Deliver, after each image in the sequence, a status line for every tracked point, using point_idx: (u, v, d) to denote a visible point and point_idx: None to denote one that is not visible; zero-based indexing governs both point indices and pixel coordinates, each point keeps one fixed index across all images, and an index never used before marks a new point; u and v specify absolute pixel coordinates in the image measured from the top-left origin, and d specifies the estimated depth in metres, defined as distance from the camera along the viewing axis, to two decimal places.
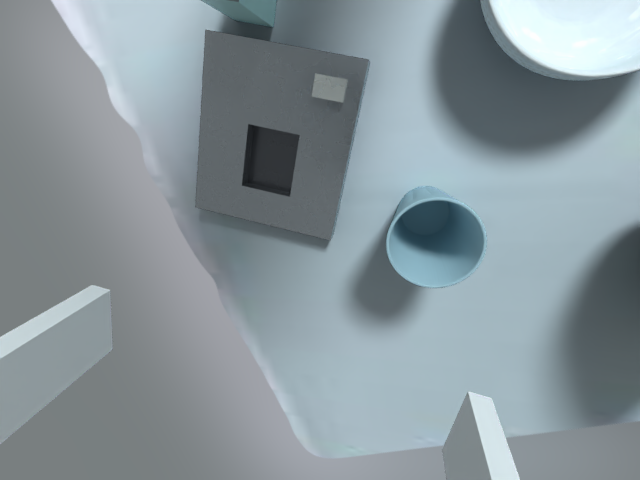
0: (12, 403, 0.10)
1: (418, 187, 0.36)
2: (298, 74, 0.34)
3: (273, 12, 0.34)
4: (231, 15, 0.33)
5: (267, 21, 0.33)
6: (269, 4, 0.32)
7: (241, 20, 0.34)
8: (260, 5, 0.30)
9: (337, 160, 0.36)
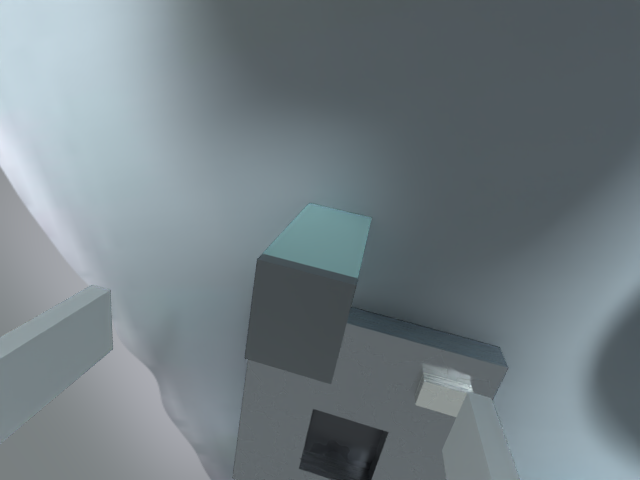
0: (12, 403, 0.10)
1: None
2: (394, 368, 0.23)
3: None
4: None
5: None
6: None
7: None
8: None
9: (443, 467, 0.25)
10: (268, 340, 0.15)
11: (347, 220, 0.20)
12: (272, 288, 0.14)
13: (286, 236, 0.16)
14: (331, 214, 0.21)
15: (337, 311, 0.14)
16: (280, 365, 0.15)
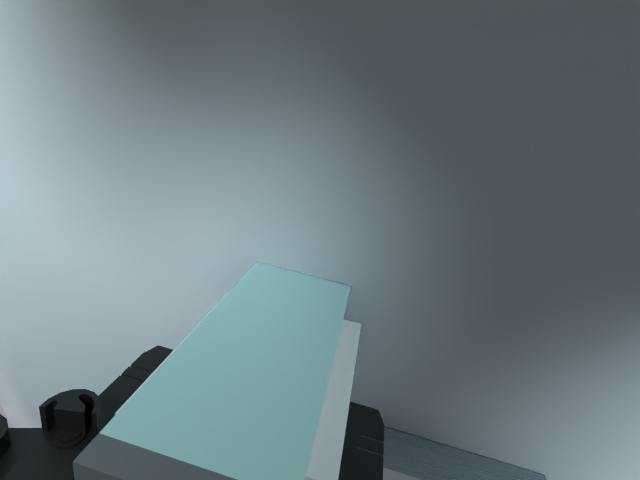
0: None
1: None
2: None
3: None
4: None
5: None
6: None
7: None
8: None
9: None
10: None
11: (310, 297, 0.13)
12: None
13: (181, 358, 0.09)
14: (286, 285, 0.13)
15: None
16: None
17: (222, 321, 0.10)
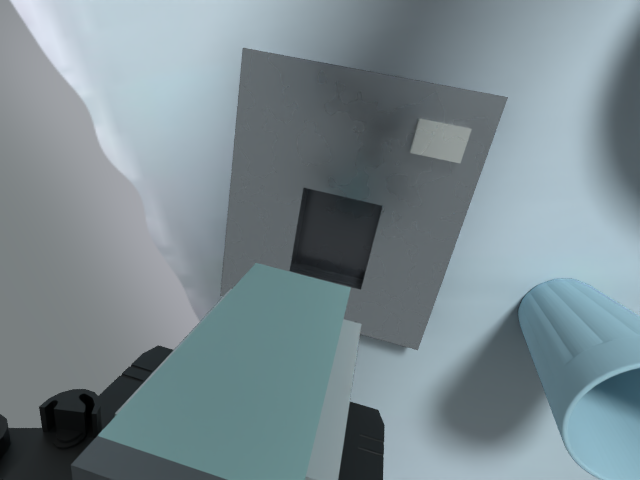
0: None
1: (557, 281, 0.24)
2: (388, 117, 0.22)
3: None
4: None
5: None
6: None
7: None
8: None
9: (439, 244, 0.24)
10: None
11: (310, 299, 0.13)
12: None
13: (180, 360, 0.09)
14: (286, 286, 0.13)
15: None
16: None
17: (221, 323, 0.10)
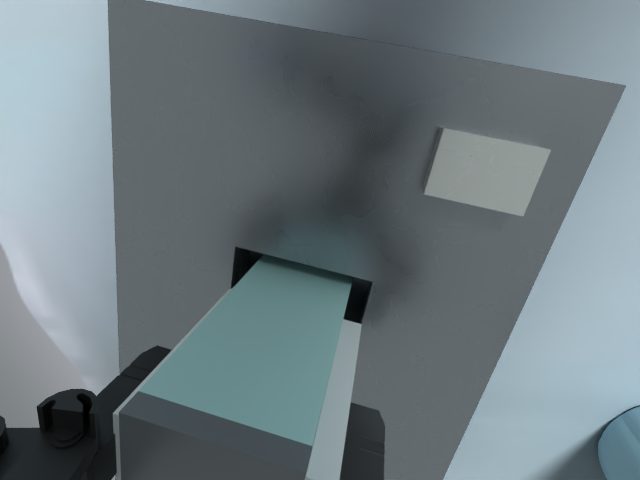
0: None
1: None
2: (381, 126, 0.11)
3: None
4: None
5: None
6: None
7: None
8: None
9: (474, 348, 0.13)
10: None
11: (316, 284, 0.14)
12: (153, 460, 0.08)
13: (203, 334, 0.10)
14: (293, 273, 0.14)
15: None
16: None
17: (237, 303, 0.12)
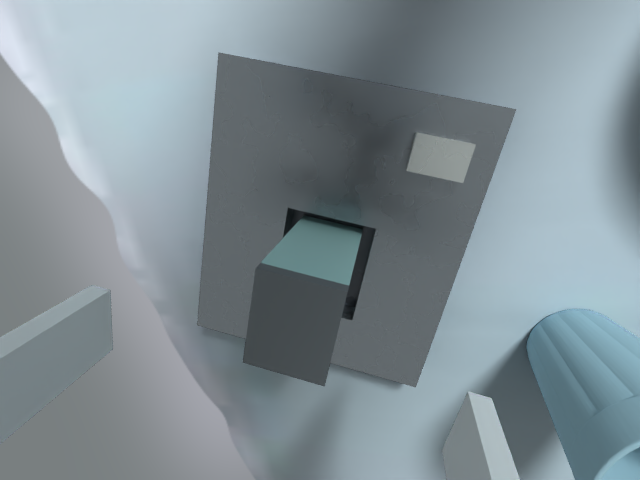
0: (12, 403, 0.10)
1: (570, 312, 0.22)
2: (381, 131, 0.19)
3: None
4: None
5: None
6: None
7: None
8: None
9: (440, 271, 0.21)
10: (265, 344, 0.16)
11: (339, 232, 0.21)
12: (269, 295, 0.15)
13: (282, 246, 0.18)
14: (324, 226, 0.22)
15: (330, 316, 0.15)
16: (276, 368, 0.16)
17: (295, 236, 0.19)
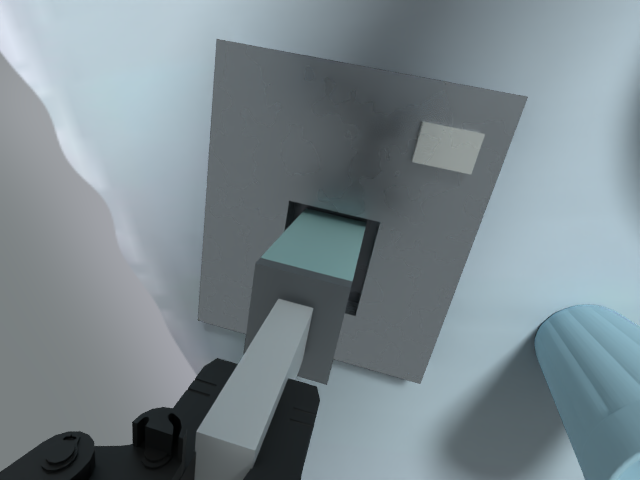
0: None
1: (580, 308, 0.21)
2: (386, 120, 0.18)
3: None
4: None
5: None
6: None
7: None
8: None
9: (446, 266, 0.20)
10: None
11: (342, 225, 0.21)
12: (270, 291, 0.15)
13: (283, 241, 0.17)
14: (327, 219, 0.21)
15: (332, 313, 0.14)
16: None
17: (297, 230, 0.19)
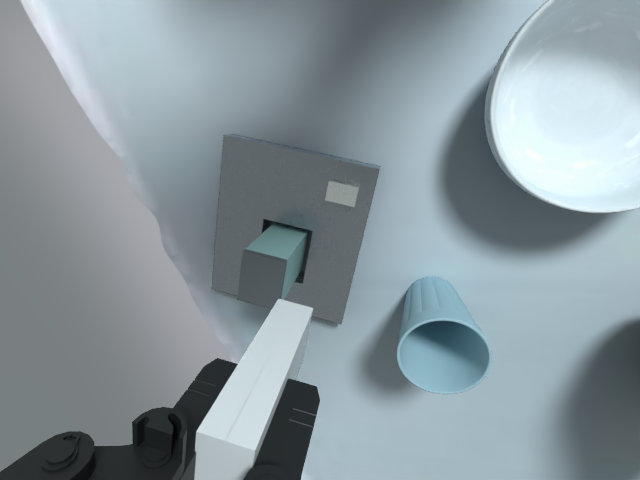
0: None
1: (425, 278, 0.38)
2: (312, 178, 0.35)
3: (301, 263, 0.40)
4: None
5: (297, 276, 0.39)
6: (299, 265, 0.39)
7: None
8: (293, 278, 0.37)
9: (349, 255, 0.37)
10: (248, 289, 0.32)
11: (293, 232, 0.38)
12: (249, 264, 0.32)
13: (257, 241, 0.34)
14: (285, 229, 0.38)
15: (278, 274, 0.31)
16: (254, 301, 0.33)
17: (266, 235, 0.36)
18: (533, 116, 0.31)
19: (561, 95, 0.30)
